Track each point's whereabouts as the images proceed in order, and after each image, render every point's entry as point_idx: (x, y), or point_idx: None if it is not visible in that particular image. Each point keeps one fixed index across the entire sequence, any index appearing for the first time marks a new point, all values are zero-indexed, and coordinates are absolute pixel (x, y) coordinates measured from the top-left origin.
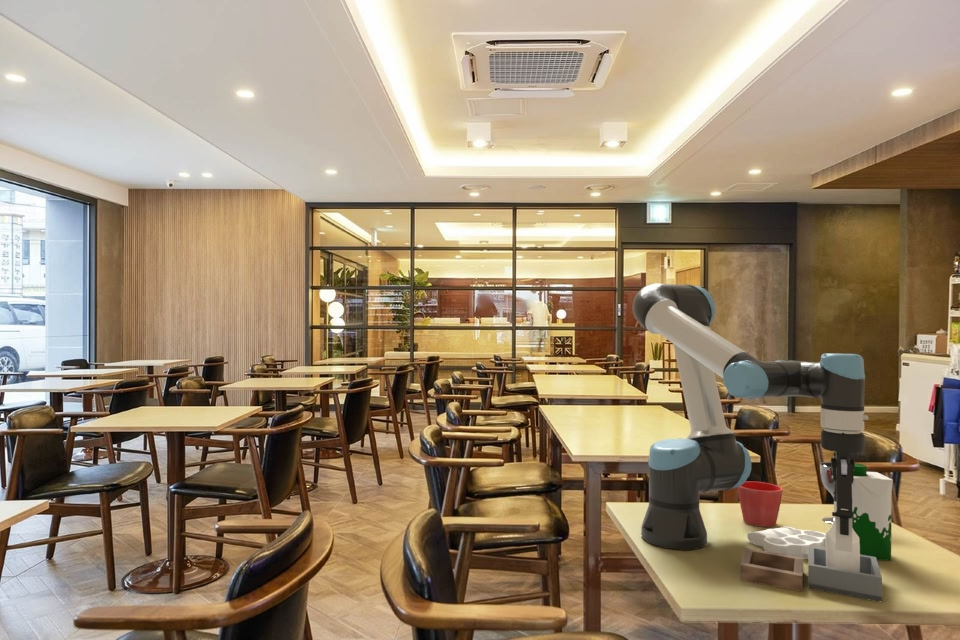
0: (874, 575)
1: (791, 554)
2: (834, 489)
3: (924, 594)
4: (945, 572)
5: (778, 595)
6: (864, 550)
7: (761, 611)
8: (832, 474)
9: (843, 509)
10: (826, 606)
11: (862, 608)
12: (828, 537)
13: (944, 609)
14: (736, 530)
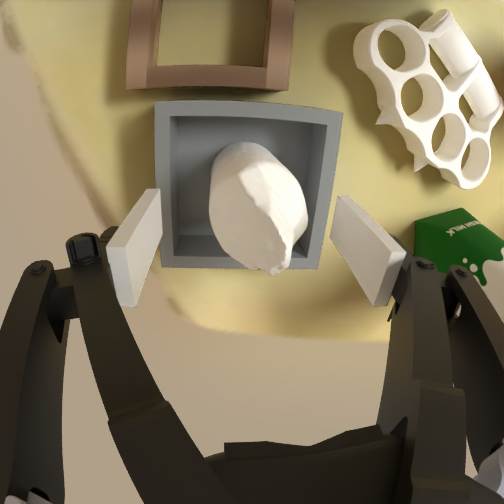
0: (168, 254)
1: (374, 79)
2: (460, 286)
3: (259, 306)
4: (376, 335)
5: (93, 50)
6: (421, 244)
7: (14, 50)
8: (420, 390)
9: (369, 272)
10: (86, 141)
11: (117, 204)
12: (231, 172)
13: (202, 321)
14: (483, 16)
